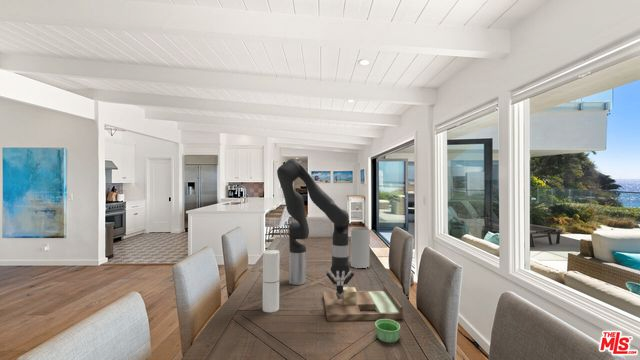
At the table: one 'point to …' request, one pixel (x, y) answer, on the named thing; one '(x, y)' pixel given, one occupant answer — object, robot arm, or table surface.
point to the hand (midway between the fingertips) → (339, 293)
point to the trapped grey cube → (339, 296)
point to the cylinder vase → (360, 247)
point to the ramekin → (387, 330)
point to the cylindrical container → (270, 280)
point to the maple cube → (349, 296)
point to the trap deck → (363, 306)
